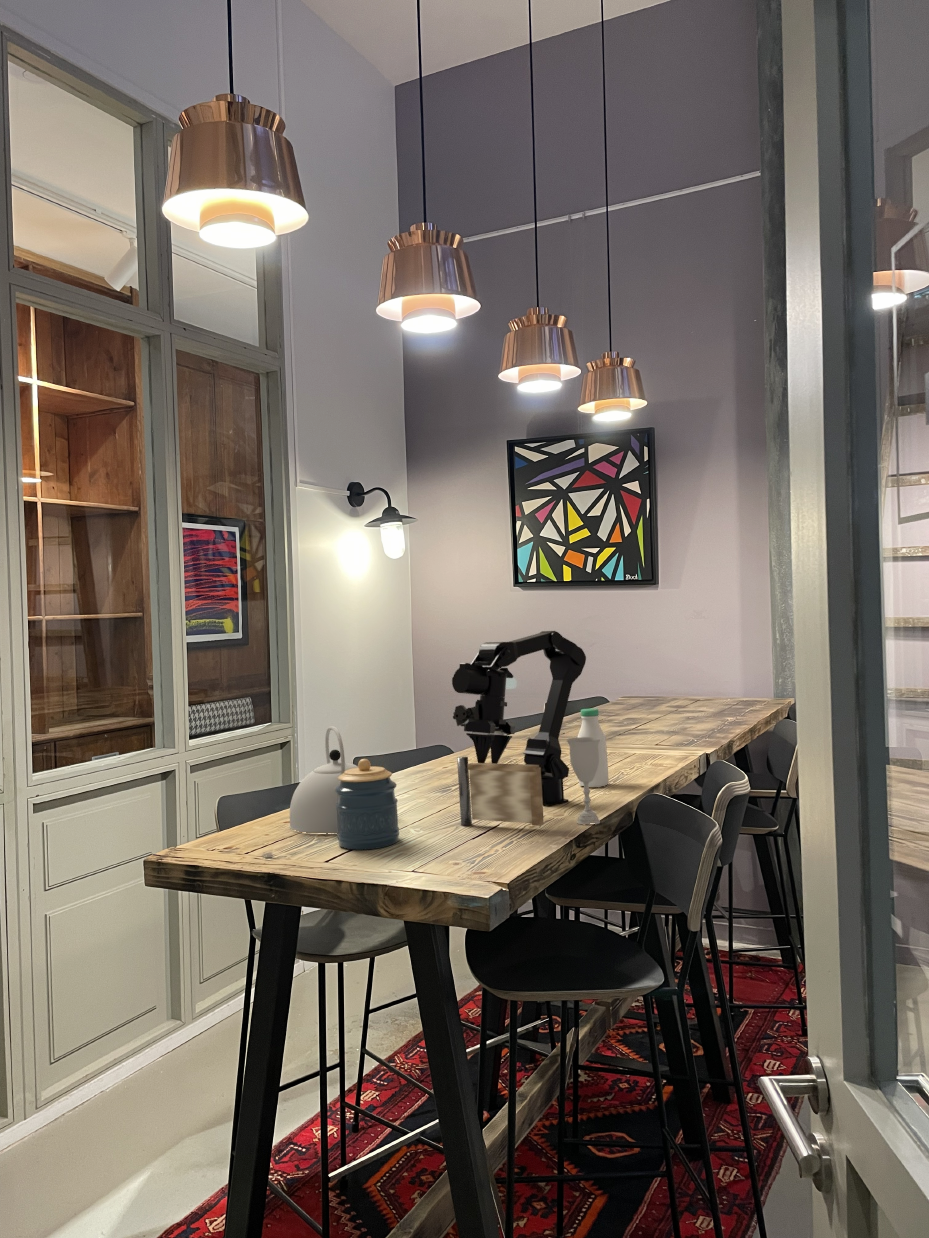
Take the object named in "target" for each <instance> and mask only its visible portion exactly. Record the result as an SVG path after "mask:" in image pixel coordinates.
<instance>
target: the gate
mask: <svg viewBox="0 0 929 1238" xmlns="http://www.w3.org/2000/svg"><path fill="white" fill-rule="evenodd" d="M468 770H469V785H470V802H471V818H472V820H476V821H489V822H491V821H492V822H504V823H505V822H507V823H521V824H532V826H539V827H541V826H542V825H544V824H545V817H544V816H545V815H544V805H543V800H542V783H541V767H539V765H527V764H525V763H524V764H523V763H521V764H519V763H497V764H496V763H492V762H489V763H487V762H485V763H478V762H471V763H468Z"/></svg>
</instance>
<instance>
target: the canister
mask: <svg viewBox="0 0 929 1238" xmlns="http://www.w3.org/2000/svg"><path fill="white" fill-rule="evenodd" d="M371 765H372V764H371V762H370V760H369V759H367V758H362V759H360V760H359V761H358V764H357V766H358V768H352V769H348V770H346V771H345V772H344V773H343V774H342V775H340V776H339V777H338V780H340V784H339V785H338V786H337V787H336V788H335V792H336V793H337V794H338V802H337V803H336V805H335V806H336V808H337V823H338V833H337V834H336V835H337V841H338V845H339V847H341V848H343V847H344V848H343V849H346V848H347V849H346V850H355V849H357V850H359V851H361V850H363V849H364V850H374V849H380V848H385V847H389V846H392V845H394V844H396V843H397V842H398V841H399V840H400V839H399V837H400V827H399V818H398V817H399V816H398V798H396V795H395V789H396V788H397V783H396V782H395V781H393V780H392V779H391V776H393V774H392V772H391V771H389V770H387V769H386V768H385V767H382V766H371ZM357 850H356V851H357ZM364 850H363V851H364Z"/></svg>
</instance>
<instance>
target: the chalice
mask: <svg viewBox="0 0 929 1238" xmlns="http://www.w3.org/2000/svg"><path fill="white" fill-rule="evenodd" d="M599 741H600V738H594V737H581V738H578V737H574V738H568V739H567V740H566V742H567V744H568V745H569V758H570V760H569V761H570V765H571V767H572V770H573V772H574V775H576V777H577V779H578V782H579V781H581V782H583V783H584V787H583V790H582V793H583V794H584V797H583V800H582V801H583V802H584V809H583V810H582V811H580V813H579V815H578V819H577V821H576V824H577V823H579V824H578V825H580V824H590V823H595V825H599V824H600V823H601V821H600V820H599V816H598V814H597V813H596V811H594V810H592V808H591V805H590V803H591V800H592V799H591V797H590V793H591V790H590V788H589V787H588V785H589V782H591V781H592V780H593V778H594V776H595V773H596V771H597V768H598V764H599V749H598V743H599Z"/></svg>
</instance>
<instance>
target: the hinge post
mask: <svg viewBox="0 0 929 1238" xmlns="http://www.w3.org/2000/svg"><path fill="white" fill-rule="evenodd" d="M456 761H457V764H456V765H457V781H458V796H459V797H458V798H459V811H460V813H459V814H460V826H462V827H470V826H472V825H473V823H472V822H473V821H472V820H473V819H472V806H471V790H470V773H469V770H468V764H469V758H468V756H457V757H456Z"/></svg>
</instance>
